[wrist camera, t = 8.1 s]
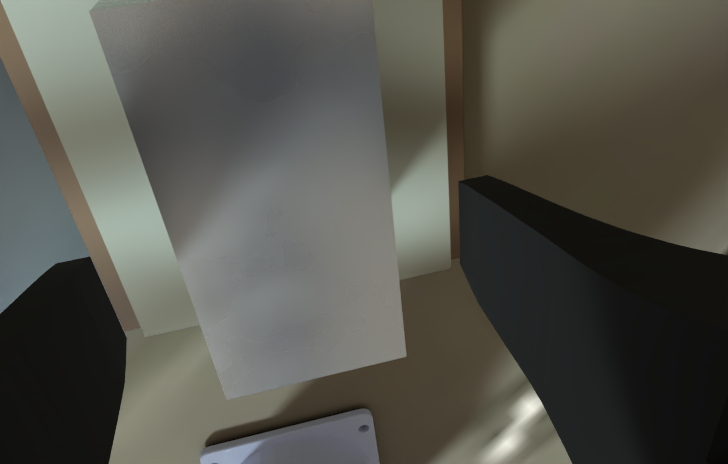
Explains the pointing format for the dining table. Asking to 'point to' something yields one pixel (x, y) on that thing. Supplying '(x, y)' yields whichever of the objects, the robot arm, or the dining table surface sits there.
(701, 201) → the dining table surface
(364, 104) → the housing
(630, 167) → the dining table surface
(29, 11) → the stand
